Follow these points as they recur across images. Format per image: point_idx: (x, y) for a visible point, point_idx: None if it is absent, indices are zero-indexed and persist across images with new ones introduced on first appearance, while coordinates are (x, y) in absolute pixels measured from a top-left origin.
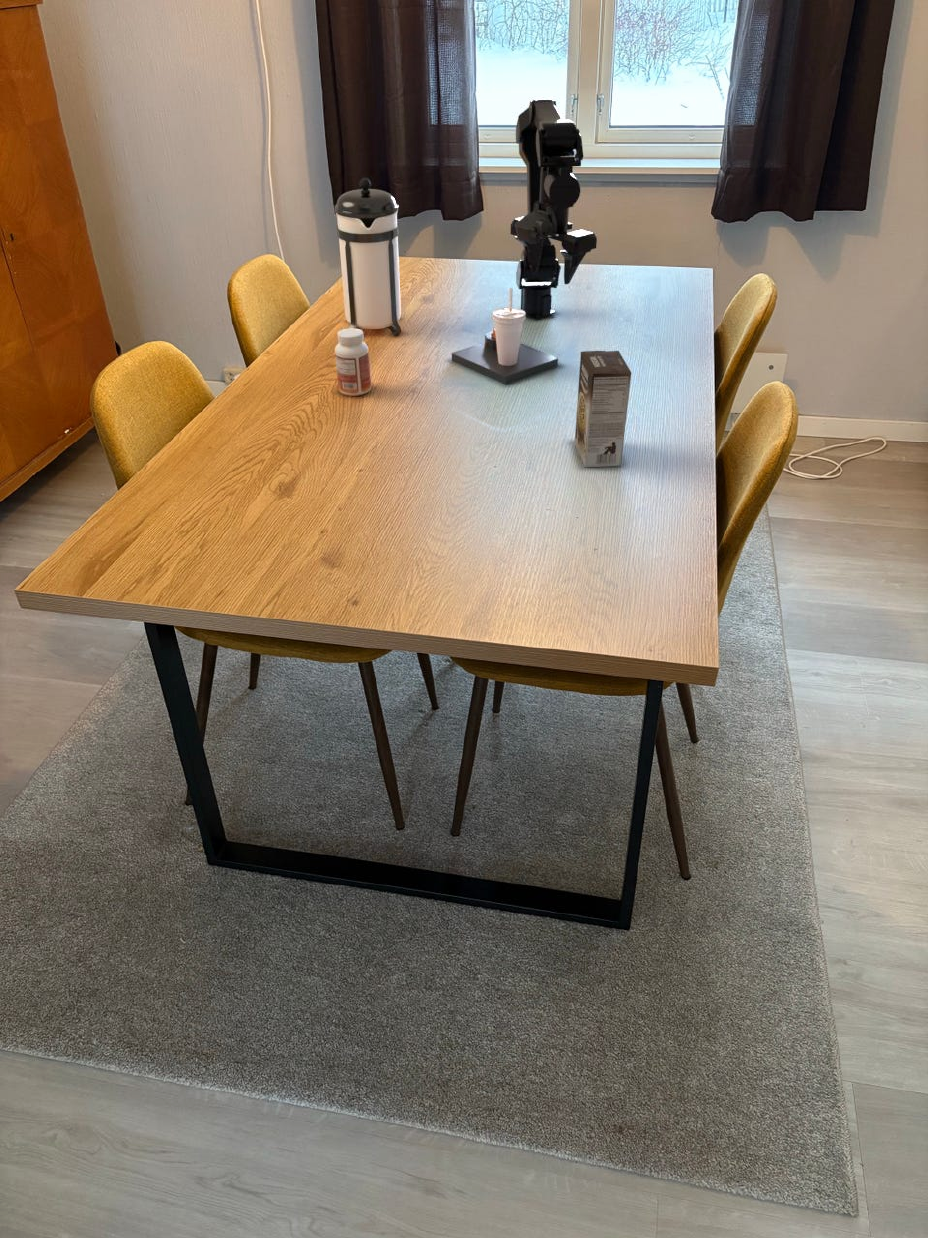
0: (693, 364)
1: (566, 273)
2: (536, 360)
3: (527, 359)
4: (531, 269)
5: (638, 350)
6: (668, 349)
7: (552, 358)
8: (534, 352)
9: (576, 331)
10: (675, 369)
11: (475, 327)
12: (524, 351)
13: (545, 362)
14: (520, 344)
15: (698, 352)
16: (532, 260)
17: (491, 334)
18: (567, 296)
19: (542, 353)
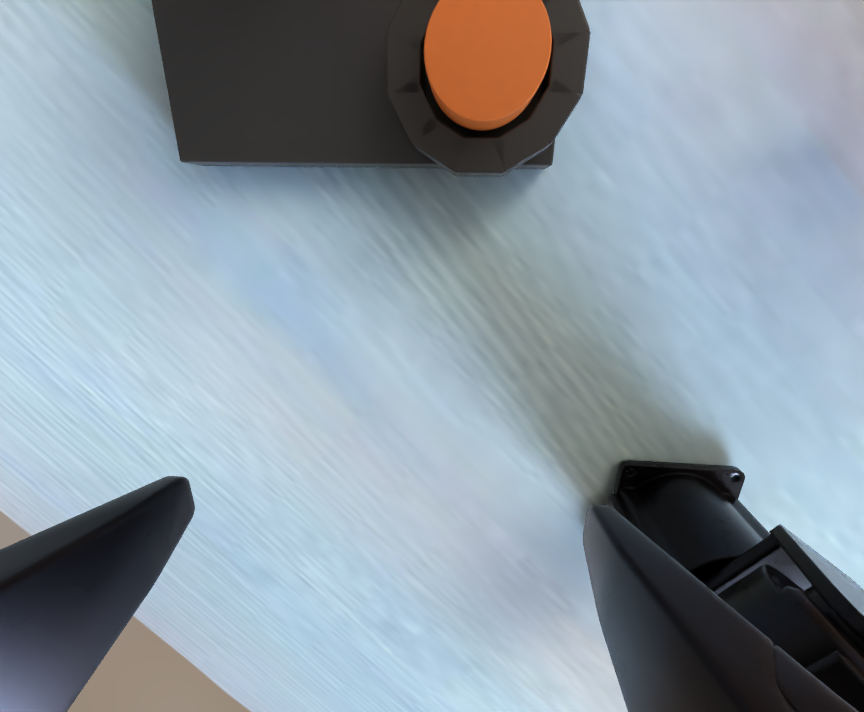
0: (23, 501)
1: (47, 534)
2: (207, 51)
3: (240, 20)
4: (622, 522)
5: None
6: None
7: (190, 138)
8: (293, 125)
9: (431, 477)
10: (9, 443)
11: (794, 227)
12: (332, 94)
13: (164, 68)
14: (412, 150)
15: None
16: (651, 610)
17: None
18: None
19: (263, 148)
